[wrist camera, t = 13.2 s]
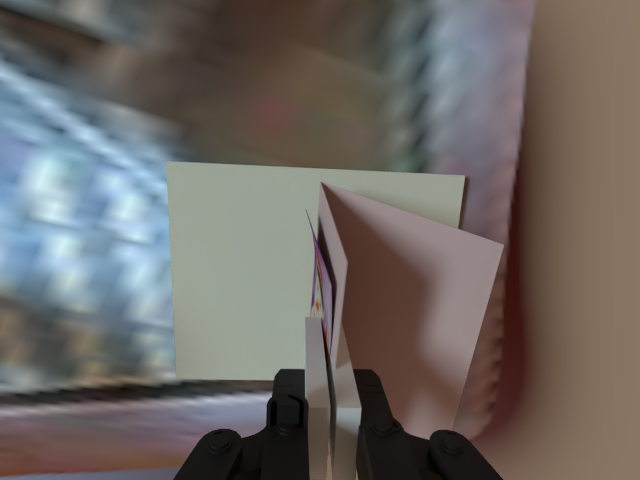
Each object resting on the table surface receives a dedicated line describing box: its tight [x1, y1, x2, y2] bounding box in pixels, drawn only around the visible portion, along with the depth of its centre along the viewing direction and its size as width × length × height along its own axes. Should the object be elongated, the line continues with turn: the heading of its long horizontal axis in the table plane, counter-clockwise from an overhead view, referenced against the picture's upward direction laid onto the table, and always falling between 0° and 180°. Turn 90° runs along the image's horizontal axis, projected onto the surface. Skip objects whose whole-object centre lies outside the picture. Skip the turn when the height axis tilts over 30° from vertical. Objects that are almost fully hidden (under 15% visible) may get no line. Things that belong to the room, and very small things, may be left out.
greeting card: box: [306, 181, 505, 440], centre depth 20 cm, size 11×7×15 cm
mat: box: [166, 161, 465, 380], centre depth 26 cm, size 20×16×1 cm
